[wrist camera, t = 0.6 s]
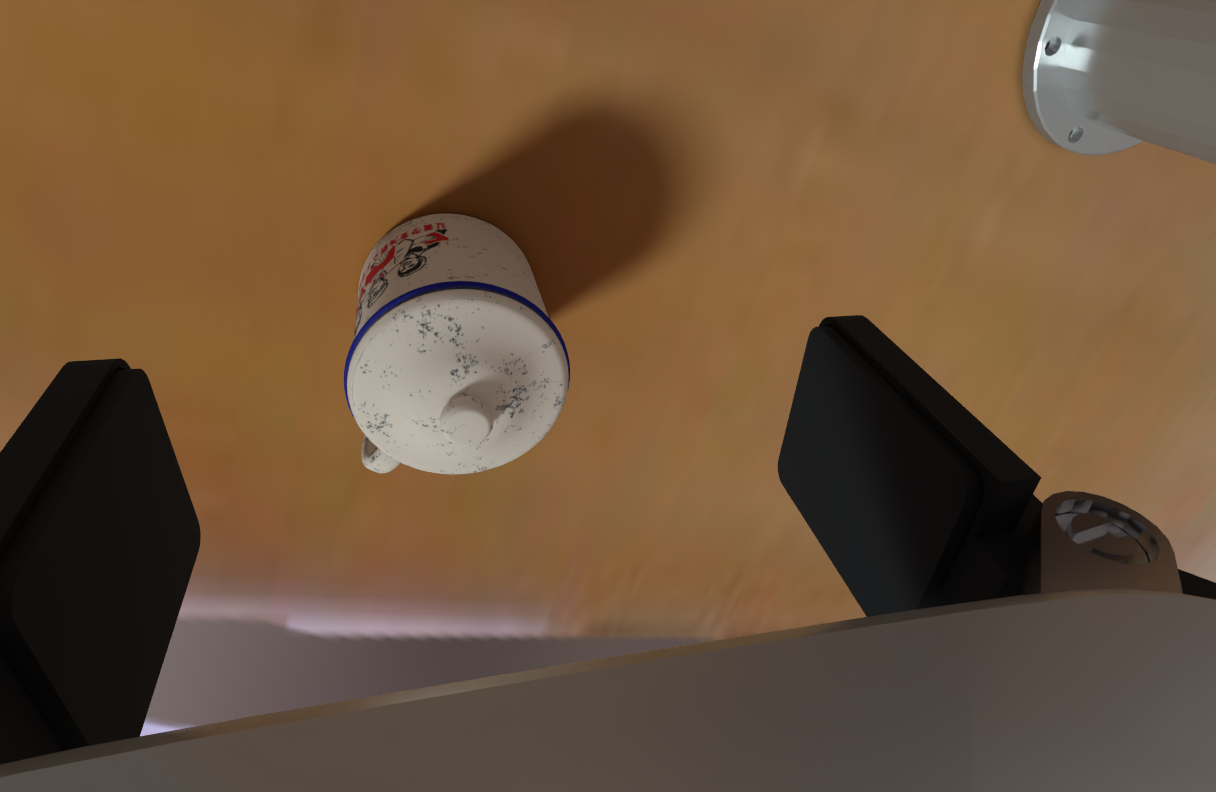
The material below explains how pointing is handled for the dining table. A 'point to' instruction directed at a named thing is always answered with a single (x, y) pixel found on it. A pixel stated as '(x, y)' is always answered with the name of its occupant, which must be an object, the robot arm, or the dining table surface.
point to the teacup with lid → (452, 350)
